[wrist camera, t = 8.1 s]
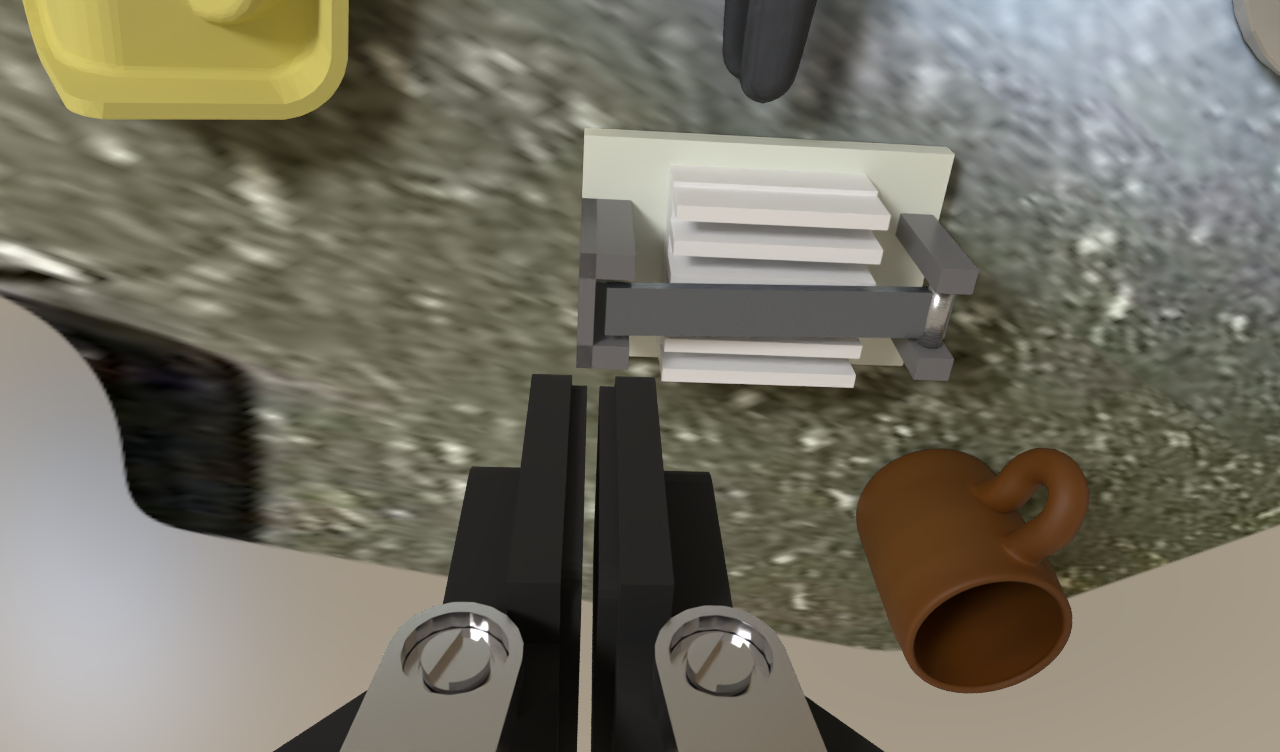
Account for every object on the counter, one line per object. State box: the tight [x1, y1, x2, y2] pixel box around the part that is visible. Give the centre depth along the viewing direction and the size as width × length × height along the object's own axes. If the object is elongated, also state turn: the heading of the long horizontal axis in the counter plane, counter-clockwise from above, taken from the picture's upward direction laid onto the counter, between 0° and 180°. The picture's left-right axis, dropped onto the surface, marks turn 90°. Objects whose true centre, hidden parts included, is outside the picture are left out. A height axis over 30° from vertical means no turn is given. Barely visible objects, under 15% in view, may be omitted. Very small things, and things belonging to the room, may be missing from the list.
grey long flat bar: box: [604, 282, 956, 348], centre depth 36 cm, size 14×3×1 cm, turn 86°
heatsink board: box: [576, 128, 979, 388], centre depth 38 cm, size 15×10×6 cm, turn 86°
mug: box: [856, 448, 1089, 693], centre depth 43 cm, size 12×8×9 cm, turn 159°
